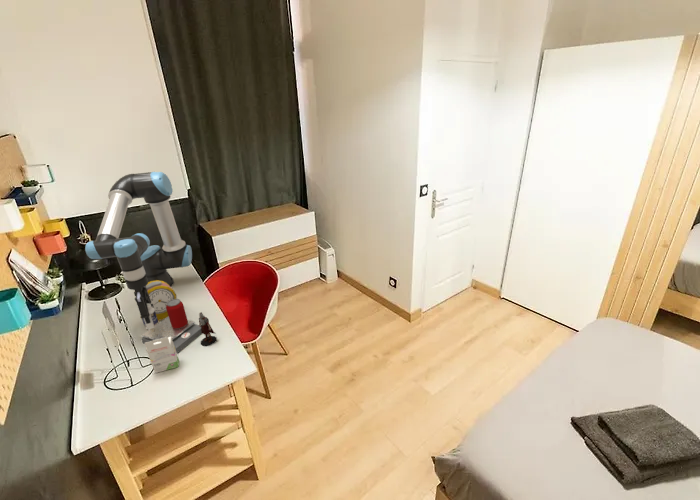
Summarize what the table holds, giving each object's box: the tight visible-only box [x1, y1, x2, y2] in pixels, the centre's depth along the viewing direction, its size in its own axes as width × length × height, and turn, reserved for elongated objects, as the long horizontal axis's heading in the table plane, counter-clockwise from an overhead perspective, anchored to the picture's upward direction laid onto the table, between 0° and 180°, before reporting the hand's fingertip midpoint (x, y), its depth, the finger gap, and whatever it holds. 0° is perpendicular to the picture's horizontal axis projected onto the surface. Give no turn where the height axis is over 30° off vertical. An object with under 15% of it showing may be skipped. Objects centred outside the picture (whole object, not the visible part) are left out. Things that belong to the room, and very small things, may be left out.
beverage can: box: [166, 298, 189, 328], centre depth 155 cm, size 7×7×12 cm
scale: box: [140, 323, 203, 354], centre depth 156 cm, size 16×20×3 cm
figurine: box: [198, 311, 217, 347], centre depth 150 cm, size 7×7×15 cm
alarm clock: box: [146, 280, 177, 322], centre depth 169 cm, size 15×8×18 cm, turn 131°
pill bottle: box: [139, 303, 159, 329], centre depth 150 cm, size 5×5×10 cm
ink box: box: [144, 337, 180, 374], centre depth 137 cm, size 9×5×15 cm, turn 110°
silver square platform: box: [141, 316, 195, 340], centre depth 156 cm, size 15×15×2 cm
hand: (151, 324), depth 152 cm, fingers closed on pill bottle, 5 cm apart
